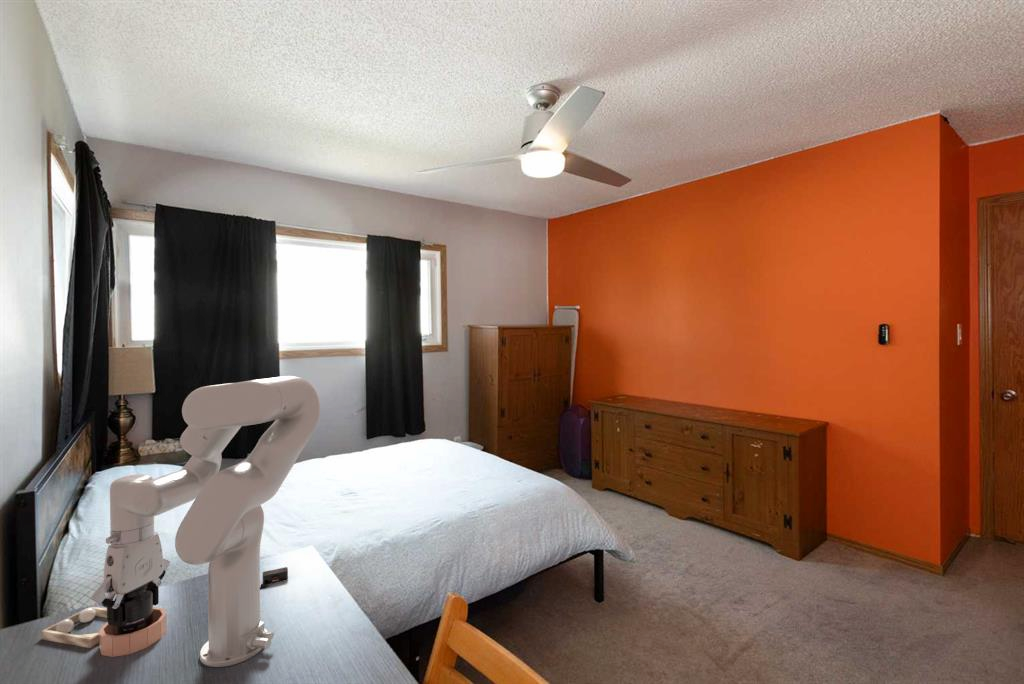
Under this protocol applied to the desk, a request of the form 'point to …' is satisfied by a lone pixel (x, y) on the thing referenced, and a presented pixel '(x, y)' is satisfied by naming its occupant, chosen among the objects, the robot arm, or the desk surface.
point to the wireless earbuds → (274, 576)
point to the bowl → (132, 636)
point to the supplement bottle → (136, 611)
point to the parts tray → (72, 639)
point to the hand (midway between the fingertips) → (134, 613)
